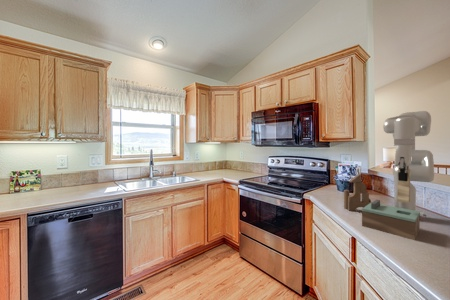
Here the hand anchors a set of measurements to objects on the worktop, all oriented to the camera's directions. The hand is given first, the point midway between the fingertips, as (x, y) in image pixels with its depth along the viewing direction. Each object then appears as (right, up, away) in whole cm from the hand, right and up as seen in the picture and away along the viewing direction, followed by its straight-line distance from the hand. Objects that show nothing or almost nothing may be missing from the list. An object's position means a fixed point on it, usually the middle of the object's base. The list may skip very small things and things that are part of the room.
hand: (403, 179), depth 95 cm
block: (0, -11, 0) cm, 11 cm away
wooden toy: (+1, -26, +34) cm, 43 cm away
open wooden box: (-3, -27, +5) cm, 27 cm away
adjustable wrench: (+35, -26, +34) cm, 55 cm away
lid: (-3, -17, +4) cm, 18 cm away
